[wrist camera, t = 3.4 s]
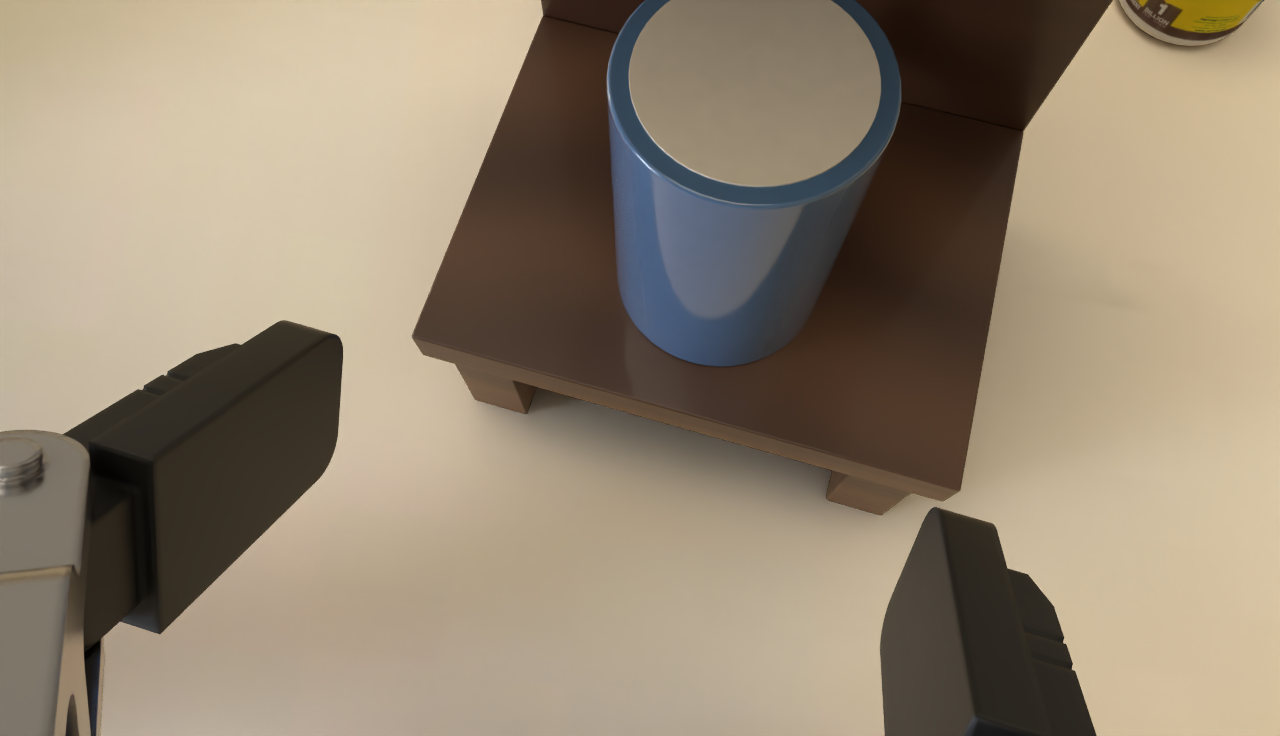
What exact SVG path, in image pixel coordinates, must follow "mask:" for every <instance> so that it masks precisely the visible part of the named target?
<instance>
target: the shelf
mask: <svg viewBox="0 0 1280 736" xmlns="http://www.w3.org/2000/svg"><path fill="white" fill-rule="evenodd" d="M644 1H645V0H541V3H542V10H543V17H542V19H541V21H540V24H539V26H538V29H537V31H536V34H535V36H534V39H533V41H532V43H531V46H530V48H529V51H528V53H527V56H526V58H525V60H524V63H523V65H522V68H521V70H520V73H519V75H518V78H517V80H516V82H515V85H514V87H513V90H512V92H511V95H510V97H509V100H508V102H507V104H506V107H505V109H504V112H503V114H502V117H501V119H500V122H499V124H498V126H497V129H496V131H495V134H494V136H493V139H492V141H491V143H490V146H489V148H488V151H487V153H486V156H485V158H484V161H483V163H482V165H481V168H480V170H479V173H478V175H477V178H476V180H475V183H474V185H473V187H472V190H471V192H470V195H469V197H468V200H467V202H466V205H465V207H464V209H463V212H462V214H461V217H460V219H459V222H458V224H457V227H456V229H455V231H454V234H453V236H452V239H451V241H450V244H449V246H448V248H447V251H446V253H445V256H444V258H443V261H442V263H441V266H440V268H439V270H438V273H437V275H436V278H435V280H434V283H433V285H432V288H431V290H430V292H429V295H428V297H427V300H426V302H425V305H424V307H423V310H422V312H421V314H420V317H419V319H418V322H417V324H416V327H415V329H414V331H413V334H412V338H413V340H414V341H415V343H416V345H417V346H418V348H419V349H420V351H421V352H422V354H423V355H426V356H429V357H433V358H436V359H440V360H443V361H447V362H450V363H454V364H455V365H456V367H457V368H458V370H459V372H460V374H461V375H462V377H463V379H464V381H465V383H466V384H467V386H468V388H469V390H470V391H471V393H472V395H473V397H474V399H475V400H478V401H482V402H485V403H489V404H492V405H496V406H499V407H503V408H506V409H510V410H513V411H517V412H520V413H524V414H527V412H528V409H529V406H530V403H531V400H532V397H533V394H534V392H535V389H536V387H539V388H543V389H546V390H550V391H553V392H557V393H560V394H564V395H567V396H571V397H574V398H578V399H581V400H585V401H589V402H592V403H596V404H599V405H603V406H606V407H610V408H613V409H617V410H620V411H624V412H627V413H631V414H635V415H638V416H642V417H645V418H649V419H652V420H656V421H659V422H663V423H666V424H670V425H674V426H677V427H681V428H684V429H688V430H691V431H695V432H698V433H702V434H705V435H709V436H712V437H716V438H720V439H723V440H727V441H730V442H734V443H737V444H741V445H744V446H748V447H751V448H755V449H758V450H762V451H766V452H769V453H773V454H776V455H780V456H783V457H787V458H790V459H794V460H797V461H801V462H804V463H808V464H812V465H815V466H819V467H822V468H826V469H829V470H832V473H831V478H830V482H829V486H828V491H827V495H826V499H827V500H829V501H832V502H836V503H839V504H843V505H846V506H850V507H853V508H857V509H860V510H864V511H867V512H871V513H874V514H878V515H882V514H883V513H885V512H886V511H888V510H889V509H890V508H892V507H893V506H894V505H896V504H897V503H898V502H900V501H901V500H902V499H904V498H905V497H906V496H908V495H909V494H911V493H914V494H918V495H921V496H925V497H928V498H932V499H935V500H939V501H945V500H946V499H948V498H949V497H951V496H952V495H954V494H956V493H957V492H959V491H960V490H961V484H962V478H963V473H964V467H965V461H966V456H967V450H968V444H969V439H970V433H971V427H972V422H973V416H974V410H975V405H976V399H977V393H978V388H979V382H980V376H981V371H982V365H983V359H984V354H985V348H986V342H987V337H988V331H989V325H990V320H991V314H992V308H993V303H994V297H995V291H996V286H997V280H998V274H999V269H1000V263H1001V257H1002V252H1003V246H1004V240H1005V235H1006V229H1007V223H1008V218H1009V212H1010V206H1011V201H1012V195H1013V189H1014V184H1015V178H1016V172H1017V167H1018V161H1019V155H1020V150H1021V144H1022V138H1023V131H1024V130H1025V128H1026V127H1027V125H1028V124H1029V122H1030V121H1031V119H1032V118H1033V116H1034V115H1035V113H1036V112H1037V110H1038V109H1039V108H1040V106H1041V105H1042V103H1043V102H1044V100H1045V99H1046V97H1047V96H1048V94H1049V93H1050V91H1051V90H1052V89H1053V87H1054V86H1055V84H1056V83H1057V81H1058V80H1059V78H1060V77H1061V75H1062V74H1063V72H1064V71H1065V69H1066V68H1067V67H1068V65H1069V64H1070V62H1071V61H1072V59H1073V58H1074V56H1075V55H1076V53H1077V52H1078V50H1079V49H1080V47H1081V46H1082V45H1083V43H1084V42H1085V40H1086V39H1087V37H1088V36H1089V34H1090V33H1091V31H1092V30H1093V28H1094V27H1095V26H1096V24H1097V23H1098V21H1099V20H1100V18H1101V17H1102V15H1103V14H1104V12H1105V11H1106V9H1107V8H1108V6H1109V5H1110V4H1111V2H1112V1H1113V0H856V1H857V2H858V3H859V4H860V5H861V6H863V7H864V8H865V9H866V10H867V11H868V12H869V14H870V15H871V16H872V17H873V18H874V19H875V20H876V21H877V23H878V24H879V26H880V27H881V29H882V30H883V32H884V33H885V35H886V36H887V38H888V40H889V42H890V44H891V46H892V48H893V51H894V54H895V57H896V60H897V63H898V66H899V71H900V77H901V83H902V101H901V108H900V114H899V118H898V121H897V124H896V128H895V131H894V133H893V135H892V138H891V140H890V142H889V144H888V146H887V149H886V151H885V153H884V155H883V157H882V160H881V162H880V164H879V166H878V168H877V171H876V173H875V175H874V177H873V180H872V182H871V184H870V186H869V188H868V191H867V193H866V195H865V197H864V199H863V202H862V204H861V206H860V208H859V210H858V213H857V215H856V217H855V219H854V221H853V224H852V226H851V228H850V230H849V233H848V235H847V237H846V239H845V241H844V244H843V246H842V248H841V250H840V252H839V255H838V257H837V259H836V261H835V263H834V266H833V268H832V270H831V272H830V274H829V277H828V279H827V281H826V283H825V286H824V288H823V290H822V292H821V294H820V297H819V299H818V301H817V303H816V305H815V308H814V310H813V312H812V314H811V316H810V318H809V320H808V321H807V323H806V324H805V326H804V327H803V328H802V330H801V331H800V332H799V333H798V334H797V335H796V336H795V337H794V339H793V340H791V341H790V342H789V343H788V344H786V345H785V346H784V347H783V348H781V349H780V350H778V351H776V352H775V353H773V354H771V355H769V356H767V357H765V358H762V359H760V360H757V361H754V362H750V363H747V364H741V365H735V366H708V365H701V364H697V363H692V362H689V361H686V360H683V359H680V358H678V357H676V356H674V355H671V354H669V353H667V352H666V351H664V350H663V349H661V348H659V347H658V346H656V345H655V344H654V343H653V342H651V341H650V340H649V339H648V338H647V337H646V336H645V335H644V334H643V333H642V332H641V331H640V330H639V329H638V328H637V327H636V325H635V324H634V322H633V321H632V319H631V318H630V316H629V315H628V313H627V311H626V309H625V307H624V305H623V302H622V299H621V296H620V292H619V287H618V281H617V265H616V246H615V228H614V210H613V192H612V173H611V155H610V137H609V118H608V100H607V70H608V62H609V58H610V55H611V51H612V48H613V45H614V43H615V41H616V39H617V36H618V34H619V32H620V31H621V29H622V27H623V26H624V24H625V23H626V21H627V20H628V18H629V17H630V16H631V14H632V13H633V12H634V11H635V10H636V9H637V8H638V6H639V5H640V4H641V3H642V2H644Z"/></svg>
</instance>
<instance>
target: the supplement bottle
mask: <svg viewBox="0 0 1280 736" xmlns="http://www.w3.org/2000/svg"><path fill="white" fill-rule="evenodd" d="M1263 1H1264V0H1120V3H1121V5H1122V7H1123V9H1124V11H1125V12H1126V14H1127V15H1128V17H1129V18H1130V19H1131V20H1132V21H1133V22H1134V23H1135V24H1136V25H1137V26H1138V27H1139V28H1141V29H1142V30H1143V31H1145V32H1146V33H1148V34H1149V35H1151V36H1153V37H1155V38H1157V39H1160V40H1162V41H1165V42H1168V43H1172V44H1177V45H1185V46H1196V45H1205V44H1210V43H1213V42H1216V41H1219V40H1221V39H1223V38H1225V37H1227V36H1229V35H1230V34H1232V33H1233V32H1234V31H1236V30H1237V29H1238V28H1239V27H1240V26H1241V25H1242V24H1243V23H1244V22H1245V21H1246V20H1247V19H1248V18H1249V16H1250V15H1251V14H1252V13H1253V12H1254V11H1255V10H1256V9H1257V8H1258V7H1259V5H1260V4H1261V3H1262V2H1263Z"/></svg>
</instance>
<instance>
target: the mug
mask: <svg viewBox="0 0 1280 736" xmlns="http://www.w3.org/2000/svg"><path fill="white" fill-rule="evenodd" d="M607 100H608V118H609V137H610V155H611V173H612V192H613V210H614V228H615V246H616V265H617V281H618V287H619V292H620V296H621V299H622V302H623V305H624V307H625V309H626V311H627V313H628V315H629V316H630V318H631V319H632V321H633V322H634V324H635V325H636V327H637V328H638V329H639V330H640V331H641V332H642V333H643V334H644V335H645V336H646V337H647V338H648V339H649V340H650V341H651V342H653V343H654V344H655V345H656V346H658V347H659V348H661V349H663V350H664V351H666V352H667V353H669V354H671V355H674V356H676V357H678V358H680V359H683V360H686V361H689V362H692V363H697V364H701V365H708V366H735V365H741V364H747V363H750V362H754V361H757V360H760V359H762V358H765V357H767V356H769V355H771V354H773V353H775V352H776V351H778V350H780V349H781V348H783V347H784V346H785V345H786V344H788V343H789V342H790V341H791V340H793V339H794V337H795V336H796V335H797V334H798V333H799V332H800V331H801V330H802V328H803V327H804V326H805V324H806V323H807V321H808V320H809V318H810V316H811V314H812V312H813V310H814V308H815V305H816V303H817V301H818V299H819V297H820V294H821V292H822V290H823V288H824V286H825V283H826V281H827V279H828V277H829V274H830V272H831V270H832V268H833V266H834V263H835V261H836V259H837V257H838V255H839V252H840V250H841V248H842V246H843V244H844V241H845V239H846V237H847V235H848V233H849V230H850V228H851V226H852V224H853V221H854V219H855V217H856V215H857V213H858V210H859V208H860V206H861V204H862V202H863V199H864V197H865V195H866V193H867V191H868V188H869V186H870V184H871V182H872V180H873V177H874V175H875V173H876V171H877V168H878V166H879V164H880V162H881V160H882V157H883V155H884V153H885V151H886V149H887V146H888V144H889V142H890V140H891V138H892V135H893V133H894V131H895V128H896V124H897V121H898V118H899V114H900V108H901V101H902V83H901V77H900V71H899V66H898V63H897V60H896V57H895V54H894V51H893V48H892V46H891V44H890V42H889V40H888V38H887V36H886V35H885V33H884V32H883V30H882V29H881V27H880V26H879V24H878V23H877V21H876V20H875V19H874V18H873V17H872V16H871V15H870V14H869V12H868V11H867V10H866V9H865V8H864V7H863V6H861V5H860V4H859V3H858V2H857V1H856V0H645V1H644V2H642V3H641V4H640V5H639V6H638V8H637V9H636V10H635V11H634V12H633V13H632V14H631V16H630V17H629V18H628V20H627V21H626V23H625V24H624V26H623V27H622V29H621V31H620V32H619V34H618V36H617V39H616V41H615V43H614V45H613V48H612V51H611V55H610V58H609V62H608V70H607Z"/></svg>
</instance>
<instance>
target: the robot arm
mask: <svg viewBox="0 0 1280 736" xmlns="http://www.w3.org/2000/svg"><path fill="white" fill-rule="evenodd" d="M342 364H343V346H342V342H341V340H340V338H339V337H338V336H337V335H335V334H332V333H328V332H325V331H321V330H318V329H314V328H311V327H307V326H304V325H300V324H297V323H293V322H290V321H285V320H283V321H279V322H277V323H275V324H274V325H272V326H271V327H269V328H268V329H266V330H264V331H263V332H261V333H260V334H258V335H256V336H255V337H253V338H252V339H250V340H248V341H247V342H245V343H244V344H242V345H239V344H236V343H235V344H231V345H228V346H224V347H221V348H217V349H213V350H210V351H206V352H203V353H199V354H196V355H194V356H193V357H191V358H189V359H188V360H186V361H184V362H183V363H181V364H179V365H178V366H176V367H174V368H173V369H171V370H169V371H168V373H167V375H166V376H164V375H161V376H159V377H158V378H156V379H154V380H153V381H151V382H149V383H148V384H146V385H144V389H143V390H139V389H138V390H136V391H134V392H133V393H131V394H129V395H128V396H126V397H124V398H123V399H121V400H119V401H118V402H116V403H114V404H113V405H111V406H109V407H108V408H106V409H104V410H103V411H101V412H99V413H98V414H96V415H94V416H93V417H91V418H89V419H88V420H86V421H84V422H83V423H81V424H79V425H78V426H76V427H74V428H73V429H71V430H69V431H68V432H66V433H64V434H63V435H61V434H58V433H53V432H47V431H38V430H14V431H3V432H0V736H101V721H102V701H103V681H104V662H105V652H104V639H103V636H104V635H105V634H107V633H108V632H109V631H110V630H111V629H112V628H113V627H114V626H115V625H117V624H118V623H119V622H120V621H121V622H124V623H127V624H130V625H133V626H136V627H139V628H142V629H145V630H148V631H151V632H154V633H157V634H161V633H162V632H163V631H164V630H165V629H166V628H167V627H168V626H169V625H170V624H171V623H172V622H173V621H174V620H175V619H176V618H177V617H178V616H179V615H180V614H181V613H182V612H183V611H184V610H185V609H186V608H187V607H188V606H189V605H191V604H192V603H193V602H194V601H195V600H196V599H197V598H198V597H199V596H200V595H201V594H202V593H203V592H204V591H205V590H206V589H207V588H208V587H209V586H210V585H211V584H212V583H213V582H214V581H215V580H216V579H217V578H218V577H219V576H220V575H221V574H222V573H223V572H224V571H225V570H226V569H227V568H228V567H229V566H230V565H231V564H232V563H233V562H234V561H235V560H236V559H238V558H239V557H240V556H241V555H242V554H243V553H244V552H245V551H246V550H247V549H248V548H249V547H250V546H251V545H252V544H253V543H254V542H255V541H256V540H257V539H258V538H259V537H260V536H261V535H262V534H263V533H264V532H265V531H266V530H267V529H268V528H269V527H270V526H271V525H272V524H273V523H274V522H275V521H276V520H277V519H278V518H279V517H280V516H281V515H282V514H283V513H285V512H286V511H287V510H288V509H289V508H290V507H291V506H292V505H293V504H294V503H295V502H296V501H297V500H298V499H299V498H300V497H301V496H302V495H303V494H304V493H305V492H306V491H307V490H308V489H309V488H310V487H311V486H312V485H313V484H314V483H315V482H316V481H317V480H318V479H319V478H320V477H321V476H322V474H323V473H324V472H325V470H326V468H327V466H328V465H329V463H330V460H331V458H332V456H333V453H334V450H335V446H336V442H337V437H338V425H339V409H340V394H341V379H342ZM1063 640H1064V636H1063V633H1062V630H1061V627H1060V624H1059V621H1058V618H1057V615H1056V612H1055V609H1054V606H1053V605H1052V604H1051V602H1050V601H1049V600H1048V599H1047V597H1046V596H1045V595H1044V594H1043V593H1042V591H1041V590H1040V589H1039V588H1038V586H1037V585H1036V584H1035V583H1034V581H1033V580H1032V579H1031V578H1030V577H1029V575H1028V574H1024V573H1021V572H1017V571H1014V570H1011V569H1007V566H1006V562H1005V558H1004V555H1003V551H1002V547H1001V544H1000V540H999V536H998V533H997V529H996V527H995V526H994V524H992V523H989V522H985V521H982V520H978V519H975V518H971V517H968V516H964V515H961V514H957V513H954V512H950V511H947V510H943V509H940V508H936V507H934V508H932V509H931V510H930V511H929V512H928V514H927V515H926V517H925V519H924V521H923V523H922V525H921V528H920V530H919V532H918V535H917V537H916V540H915V542H914V544H913V547H912V549H911V551H910V554H909V556H908V559H907V561H906V563H905V566H904V568H903V570H902V573H901V575H900V578H899V580H898V582H897V585H896V587H895V589H894V592H893V594H892V597H891V599H890V602H889V604H888V607H887V611H886V614H885V618H884V622H883V627H882V633H881V642H880V656H881V674H882V692H883V710H884V728H885V736H1096V733H1095V730H1094V727H1093V724H1092V721H1091V718H1090V715H1089V712H1088V709H1087V706H1086V703H1085V700H1084V696H1083V693H1082V690H1081V687H1080V684H1079V681H1078V678H1077V675H1076V672H1075V671H1073V670H1072V665H1073V663H1072V660H1071V657H1070V654H1069V651H1068V648H1067V645H1066V644H1064V643H1063Z"/></svg>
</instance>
